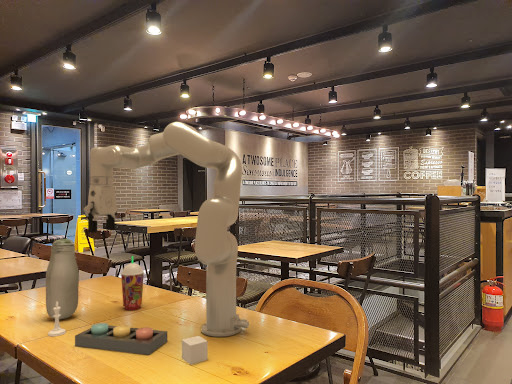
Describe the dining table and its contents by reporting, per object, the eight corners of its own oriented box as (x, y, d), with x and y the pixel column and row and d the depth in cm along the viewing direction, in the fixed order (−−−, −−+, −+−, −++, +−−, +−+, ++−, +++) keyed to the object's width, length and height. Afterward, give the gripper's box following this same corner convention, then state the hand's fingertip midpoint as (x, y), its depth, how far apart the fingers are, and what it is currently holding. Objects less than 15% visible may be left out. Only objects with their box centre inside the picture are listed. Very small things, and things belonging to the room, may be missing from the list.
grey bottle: (62, 324, 127) (62, 241, 128) (39, 321, 131) (39, 240, 131) (84, 315, 137) (84, 238, 137) (62, 312, 140) (62, 237, 141)
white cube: (198, 354, 102) (198, 335, 103) (207, 360, 98) (207, 341, 99) (181, 358, 100) (181, 339, 100) (190, 365, 96) (190, 345, 96)
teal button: (111, 332, 113) (111, 323, 113) (101, 337, 109) (101, 328, 109) (98, 331, 115) (98, 322, 115) (87, 336, 110) (87, 327, 110)
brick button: (155, 337, 109) (155, 328, 109) (147, 343, 105) (147, 333, 105) (141, 335, 111) (141, 326, 111) (132, 341, 106) (132, 332, 106)
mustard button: (133, 334, 111) (133, 325, 111) (123, 340, 107) (123, 331, 107) (119, 333, 113) (119, 324, 113) (109, 338, 108) (109, 329, 108)
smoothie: (136, 311, 141) (136, 258, 141) (116, 310, 142) (116, 257, 142) (147, 305, 149) (147, 254, 149) (128, 304, 150) (128, 254, 151)
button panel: (167, 341, 111) (167, 331, 111) (148, 355, 102) (148, 343, 102) (98, 333, 118) (98, 324, 118) (74, 346, 108) (74, 335, 108)
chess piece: (46, 337, 115) (46, 304, 116) (50, 331, 120) (50, 300, 120) (63, 335, 117) (63, 303, 117) (67, 330, 122) (67, 299, 122)
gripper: (95, 181, 124) (94, 233, 124) (125, 183, 141) (125, 229, 140) (75, 181, 126) (75, 233, 125) (108, 183, 142) (107, 229, 142)
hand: (101, 231), depth 133 cm, fingers open, 9 cm apart
